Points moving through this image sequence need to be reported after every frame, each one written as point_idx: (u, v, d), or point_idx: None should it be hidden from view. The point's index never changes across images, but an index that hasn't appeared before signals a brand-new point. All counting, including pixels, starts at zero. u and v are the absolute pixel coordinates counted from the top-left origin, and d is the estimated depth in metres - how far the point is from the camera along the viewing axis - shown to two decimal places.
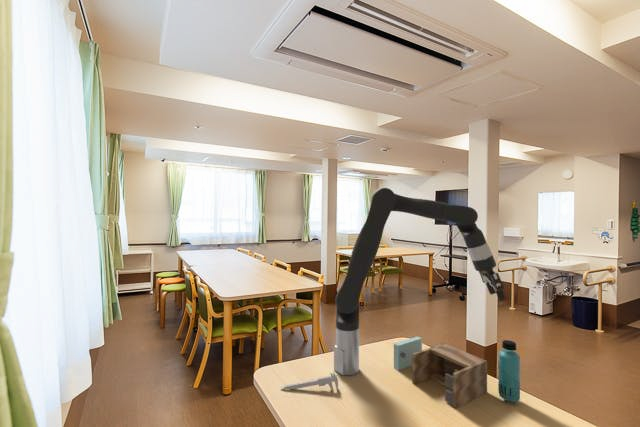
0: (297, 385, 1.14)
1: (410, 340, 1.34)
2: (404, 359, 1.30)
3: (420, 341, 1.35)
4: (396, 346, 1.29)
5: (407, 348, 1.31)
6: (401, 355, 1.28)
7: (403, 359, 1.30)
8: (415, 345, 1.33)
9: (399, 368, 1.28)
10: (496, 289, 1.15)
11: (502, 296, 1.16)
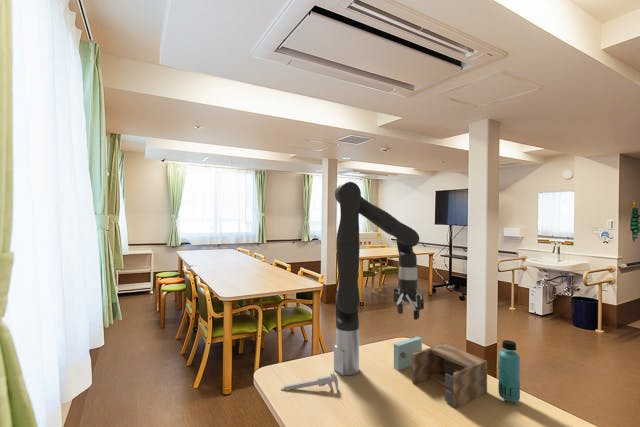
0: (297, 385, 1.14)
1: (410, 340, 1.34)
2: (404, 359, 1.30)
3: (420, 341, 1.35)
4: (396, 346, 1.29)
5: (407, 348, 1.31)
6: (401, 355, 1.28)
7: (403, 359, 1.30)
8: (415, 345, 1.33)
9: (399, 368, 1.28)
10: (418, 308, 1.26)
11: None
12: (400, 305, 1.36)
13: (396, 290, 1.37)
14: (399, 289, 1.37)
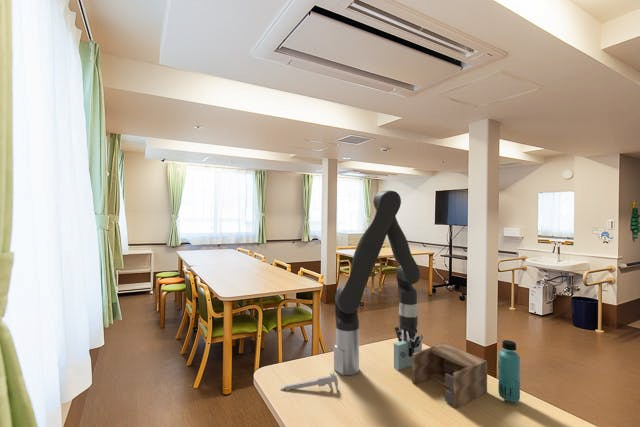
0: (297, 385, 1.14)
1: None
2: (404, 359, 1.30)
3: None
4: (396, 346, 1.29)
5: (407, 348, 1.31)
6: (401, 355, 1.28)
7: (403, 359, 1.30)
8: None
9: (399, 368, 1.28)
10: (413, 347, 1.29)
11: (412, 353, 1.31)
12: None
13: (397, 328, 1.37)
14: None
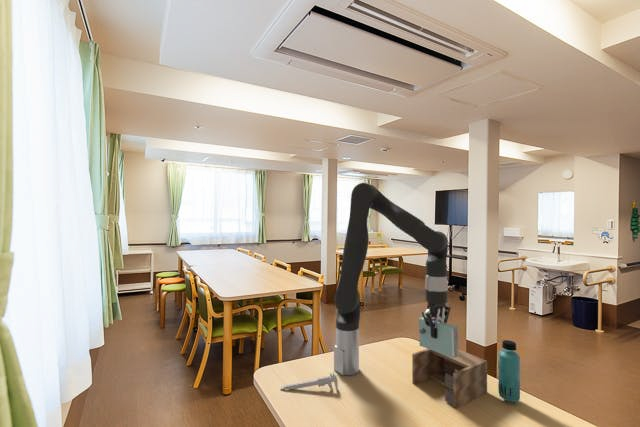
0: (297, 385, 1.14)
1: (440, 323, 1.12)
2: (427, 338, 1.15)
3: (450, 330, 1.07)
4: None
5: (430, 328, 1.14)
6: None
7: (425, 337, 1.16)
8: (442, 331, 1.10)
9: (420, 344, 1.17)
10: (426, 324, 1.12)
11: (433, 334, 1.12)
12: None
13: None
14: None
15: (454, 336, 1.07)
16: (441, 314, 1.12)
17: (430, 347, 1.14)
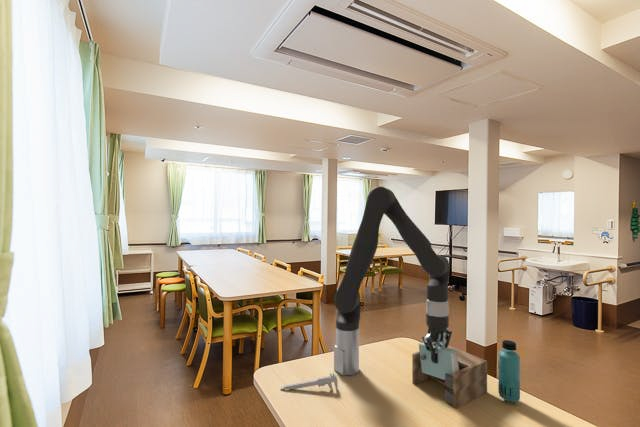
0: (296, 385, 1.14)
1: (439, 347, 1.12)
2: (428, 364, 1.14)
3: (449, 355, 1.07)
4: None
5: None
6: None
7: (427, 363, 1.15)
8: (442, 356, 1.09)
9: (423, 370, 1.16)
10: None
11: (433, 359, 1.11)
12: None
13: None
14: None
15: (454, 360, 1.06)
16: (442, 339, 1.12)
17: (432, 373, 1.13)
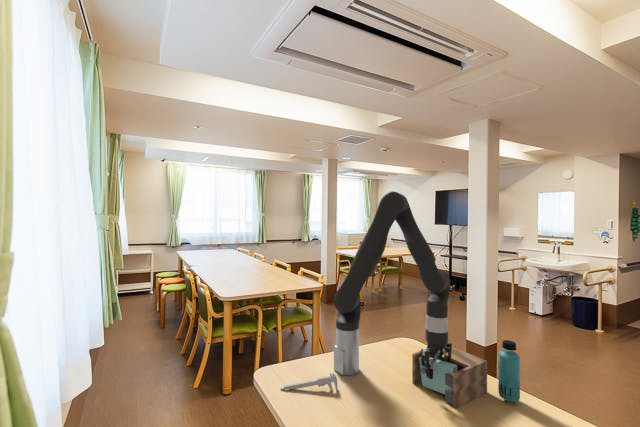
0: (296, 385, 1.14)
1: (440, 361, 1.12)
2: (428, 378, 1.14)
3: (450, 369, 1.07)
4: None
5: None
6: None
7: None
8: (442, 370, 1.09)
9: (423, 384, 1.16)
10: None
11: (428, 375, 1.10)
12: None
13: None
14: None
15: None
16: (442, 354, 1.12)
17: (432, 387, 1.13)
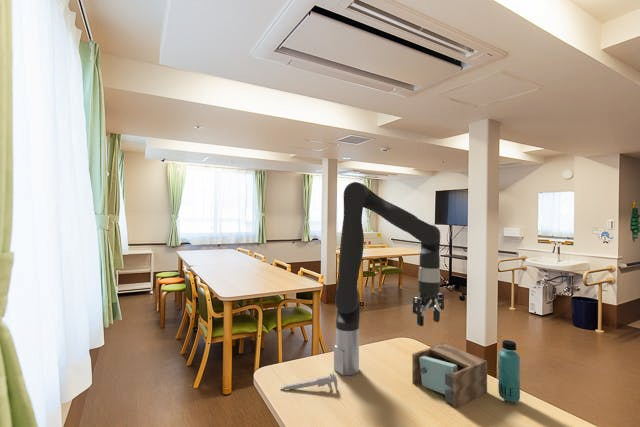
0: (296, 385, 1.14)
1: (440, 361, 1.12)
2: (428, 378, 1.14)
3: (450, 369, 1.07)
4: None
5: (431, 367, 1.13)
6: None
7: (427, 377, 1.15)
8: (442, 370, 1.09)
9: (423, 384, 1.16)
10: None
11: (419, 322, 1.14)
12: (435, 312, 1.19)
13: None
14: (437, 294, 1.20)
15: None
16: (435, 304, 1.17)
17: (432, 387, 1.13)
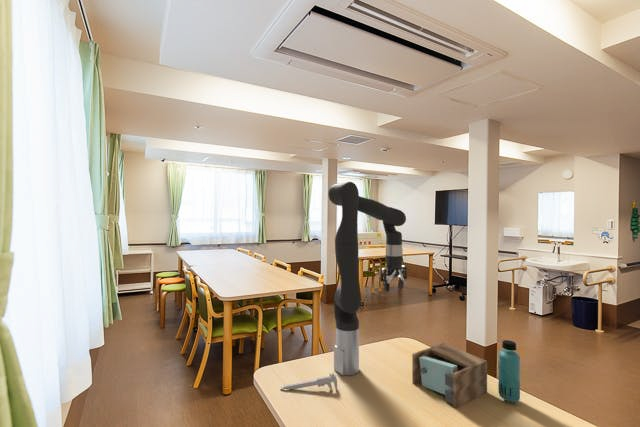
0: (296, 385, 1.14)
1: (440, 362, 1.11)
2: (428, 378, 1.14)
3: (450, 370, 1.07)
4: None
5: (431, 367, 1.13)
6: None
7: (427, 377, 1.15)
8: (443, 371, 1.09)
9: (423, 384, 1.16)
10: None
11: (386, 288, 1.42)
12: (399, 281, 1.47)
13: None
14: (401, 266, 1.48)
15: None
16: (399, 274, 1.45)
17: (432, 387, 1.13)
